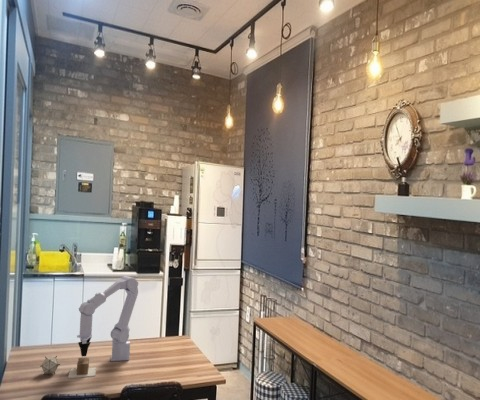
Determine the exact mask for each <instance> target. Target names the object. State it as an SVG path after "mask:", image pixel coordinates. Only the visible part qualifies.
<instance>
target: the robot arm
mask: <svg viewBox="0 0 480 400" xmlns="http://www.w3.org/2000/svg"><path fill="white" fill-rule="evenodd" d="M138 286H139V282H138V280H137V279H136V278H135V277H131V276H128V275H125V274H124V275H121V276H120V277H119V278H117V279H116V281H115V282H113V284H111V285H110V286H109V287H108V288H107V289H105V290H104V291H103V292H98V293H97V292H96V293H95V294H94V296H93V297H91V298H90V299H87V301H86V302H82V303H81V304H80V306H79V307H78V311H79V313H80V318H79V319H80V321H79V334H77V335H76V338H79V339H80V341H78V342H77V343H78V344H77V345H78V346H79V350H80V355H81V358H83V357H87V355H88V351H89V350H88V349H89V346H90V345H91V339H92V336H93V334H92V330H93V314H94V313H95V312H96V310H97V309H98V308H99V307H100V306H101V305H103V304H104V303H106V302H107V299H108V298H109V297H110V296H111V295H113V294H114V293H116V292H117V291H119V290H124V291H125V292H126V298H125V301H124V304H123V306H122V310H121V312H120V316H119V319H118V322H117V323H115V325H114V327H113V328H112V330H111V331H110V338H111V339H112V343H111V355H110V361H111V362H119V361H130V355H131V341H130V340H129V338H130V326H129V323H130V320H131V317H132V314H133V310H134V307H135V305H136V304H135V303H136V301H137V298H138V295H139V288H138Z"/></svg>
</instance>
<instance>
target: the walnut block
mask: <svg viewBox="0 0 480 400" xmlns="http://www.w3.org/2000/svg"><path fill="white" fill-rule="evenodd" d="M89 368H90V356H83V357H78V360H77V363H76V369H77V375H85V374H88V369H89Z"/></svg>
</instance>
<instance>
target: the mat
mask: <svg viewBox="0 0 480 400" xmlns="http://www.w3.org/2000/svg"><path fill="white" fill-rule="evenodd" d="M96 370H97V367H89V369H88V374H85V375H77V368H71V369H70V370H69V373H68V375H67V376H68V377H67V378H68V379H76V378H89V377H91V378H92V377H96Z"/></svg>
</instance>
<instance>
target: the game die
mask: <svg viewBox="0 0 480 400" xmlns="http://www.w3.org/2000/svg"><path fill="white" fill-rule="evenodd" d="M57 357H58V355H55V357H54V356H53V357H47V356H44V358H45V359H44V361H43V362H42V364H40V366H39V367H41V368H42V371H43V376H44V375H45V374H46V375H47V374H54V375H56V371H57V369H58V367H59V366H61V363H59V362H58V358H57Z"/></svg>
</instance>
